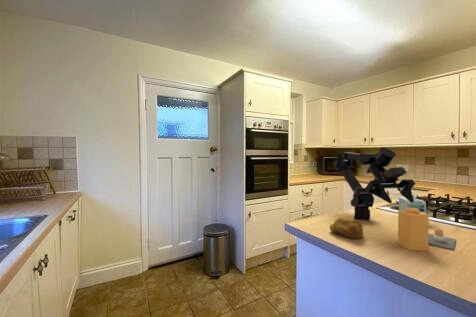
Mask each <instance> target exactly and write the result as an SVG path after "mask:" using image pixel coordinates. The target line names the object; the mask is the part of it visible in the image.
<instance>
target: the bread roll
mask: <svg viewBox="0 0 476 317" xmlns="http://www.w3.org/2000/svg"><path fill="white" fill-rule="evenodd" d="M329 230H330V231H331V232H332V233H333V234H336V235H340V236H342V237H344V238H347V239H354V240H357V239H361V238H362V237H363V235H364V227H363V223H362V222H361V221H360V220H359V219H355V218H354V219H351V218H349V219H346V218H344V217H338V218H336V219H335V220H333V223H331V224H330V226H329Z"/></svg>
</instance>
